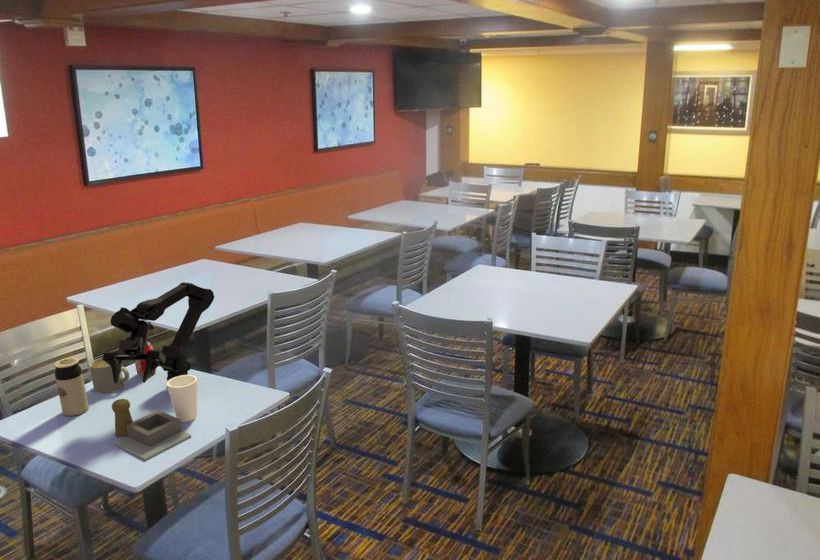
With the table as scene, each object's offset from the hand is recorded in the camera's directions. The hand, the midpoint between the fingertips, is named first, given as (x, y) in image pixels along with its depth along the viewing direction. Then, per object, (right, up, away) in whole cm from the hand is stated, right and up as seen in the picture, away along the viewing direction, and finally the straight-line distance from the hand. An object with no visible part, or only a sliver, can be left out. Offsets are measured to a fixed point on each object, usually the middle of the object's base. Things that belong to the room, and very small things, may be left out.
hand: (129, 382), depth 214 cm
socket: (+11, -16, -9) cm, 22 cm away
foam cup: (+17, -12, +5) cm, 21 cm away
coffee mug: (-18, -6, +28) cm, 34 cm away
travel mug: (-23, -12, +12) cm, 28 cm away
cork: (0, -15, -4) cm, 16 cm away
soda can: (-10, -3, +39) cm, 40 cm away
